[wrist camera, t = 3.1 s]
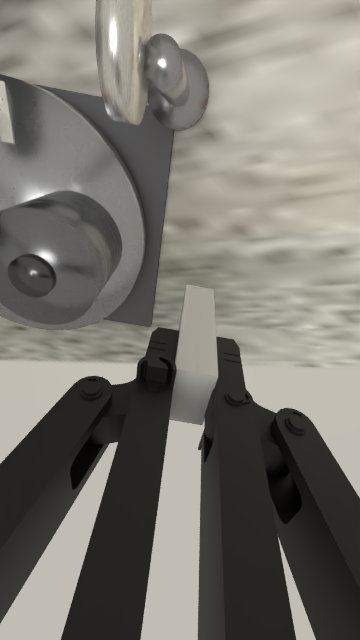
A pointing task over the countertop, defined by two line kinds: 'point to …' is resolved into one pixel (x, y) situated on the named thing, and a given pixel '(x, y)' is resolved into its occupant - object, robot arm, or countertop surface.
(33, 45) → the countertop surface
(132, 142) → the turntable base
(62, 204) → the cover
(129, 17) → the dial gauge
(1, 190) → the turntable
